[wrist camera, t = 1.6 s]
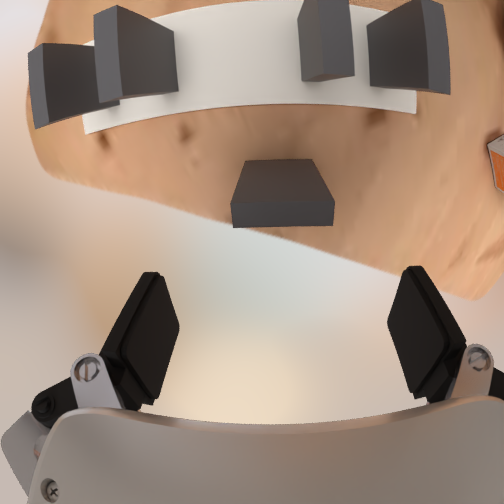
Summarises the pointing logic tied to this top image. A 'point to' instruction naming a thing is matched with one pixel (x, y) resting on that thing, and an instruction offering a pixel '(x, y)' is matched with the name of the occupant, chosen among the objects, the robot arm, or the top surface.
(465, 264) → the top surface
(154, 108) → the board
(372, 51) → the domino
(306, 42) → the domino
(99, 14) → the domino
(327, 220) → the domino
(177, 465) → the robot arm
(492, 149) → the skincare box
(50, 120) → the domino
